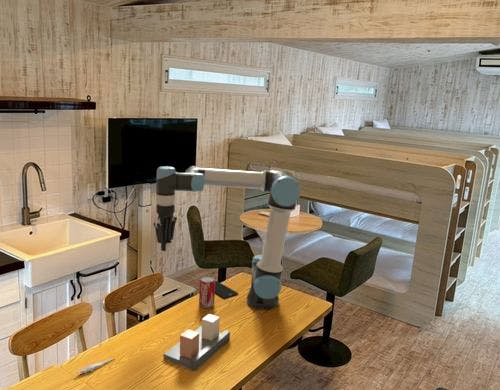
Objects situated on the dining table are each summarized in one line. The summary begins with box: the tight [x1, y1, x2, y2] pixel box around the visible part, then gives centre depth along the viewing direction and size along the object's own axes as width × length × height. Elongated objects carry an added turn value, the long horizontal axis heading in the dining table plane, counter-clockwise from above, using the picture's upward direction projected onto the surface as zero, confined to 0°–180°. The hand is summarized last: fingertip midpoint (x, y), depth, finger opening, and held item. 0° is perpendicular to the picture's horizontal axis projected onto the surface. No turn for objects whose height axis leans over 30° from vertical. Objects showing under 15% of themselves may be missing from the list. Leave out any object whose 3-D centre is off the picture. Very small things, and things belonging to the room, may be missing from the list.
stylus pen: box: [75, 358, 114, 375], centre depth 161 cm, size 15×3×2 cm, turn 138°
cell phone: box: [214, 280, 239, 300], centre depth 226 cm, size 9×18×1 cm, turn 41°
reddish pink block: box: [179, 328, 199, 359], centre depth 167 cm, size 5×5×8 cm
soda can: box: [198, 275, 216, 309], centre depth 209 cm, size 7×7×13 cm
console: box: [163, 325, 231, 372], centre depth 174 cm, size 14×24×4 cm, turn 152°
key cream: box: [201, 313, 221, 341], centre depth 179 cm, size 5×5×8 cm
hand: (165, 257), depth 194 cm, fingers closed
